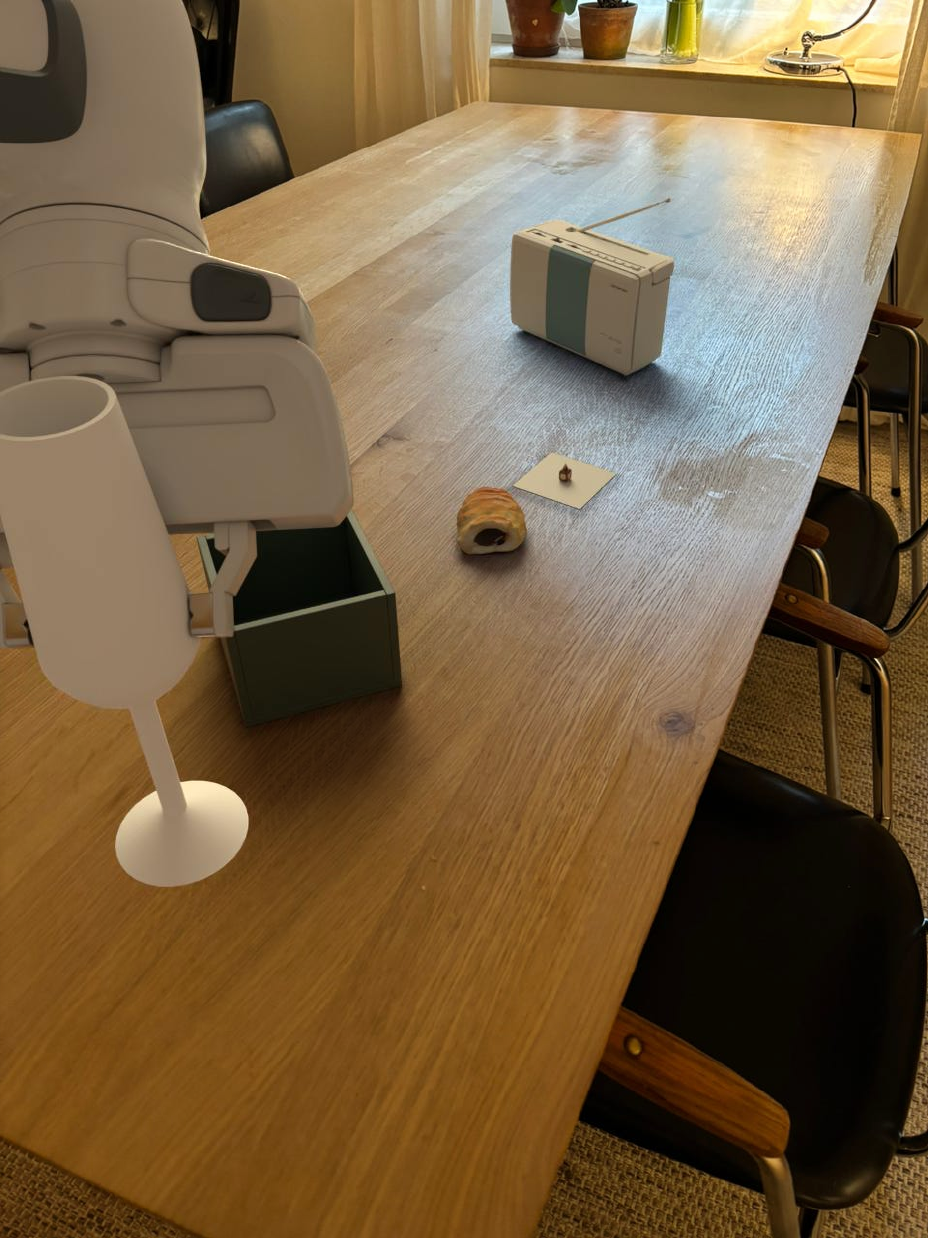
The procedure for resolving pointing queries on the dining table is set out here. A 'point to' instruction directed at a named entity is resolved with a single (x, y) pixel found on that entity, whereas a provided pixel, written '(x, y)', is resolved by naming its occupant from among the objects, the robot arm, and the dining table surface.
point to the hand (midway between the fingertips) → (117, 642)
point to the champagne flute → (109, 604)
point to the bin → (309, 621)
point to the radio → (590, 292)
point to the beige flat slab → (565, 480)
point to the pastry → (490, 522)
